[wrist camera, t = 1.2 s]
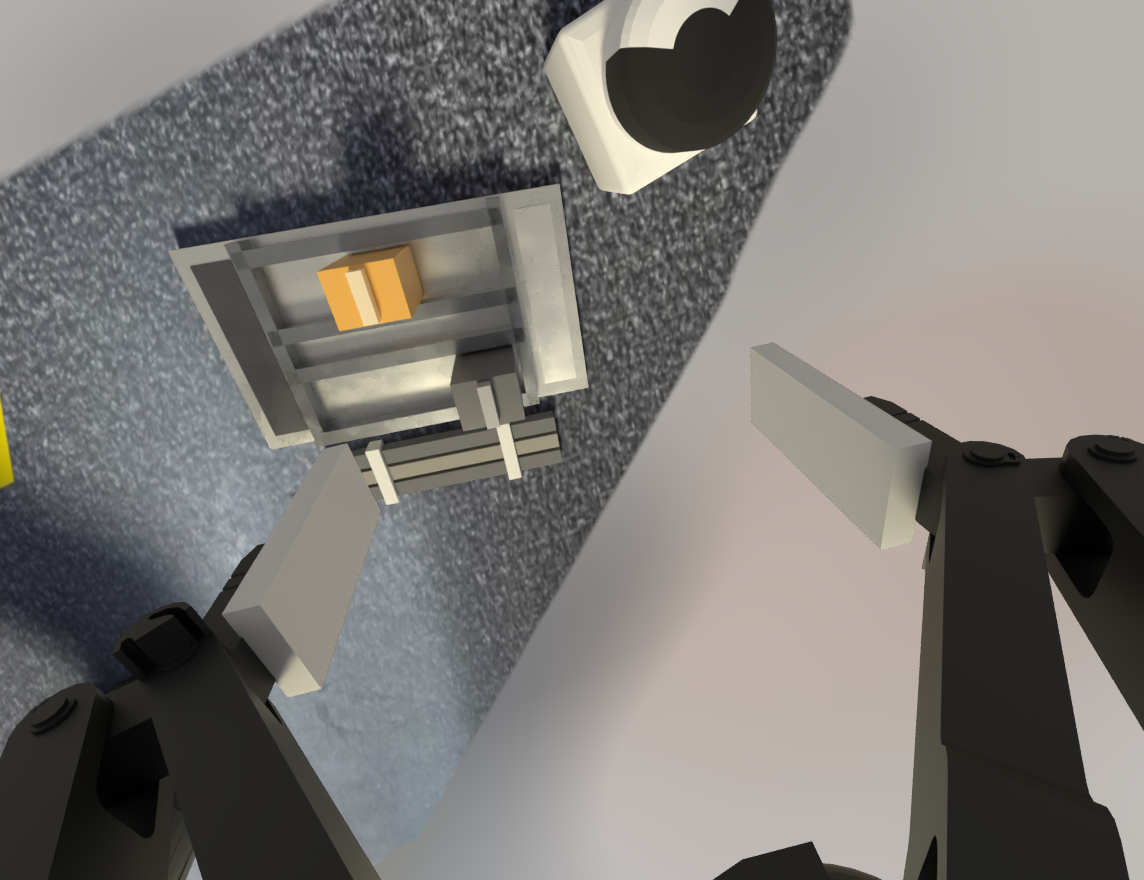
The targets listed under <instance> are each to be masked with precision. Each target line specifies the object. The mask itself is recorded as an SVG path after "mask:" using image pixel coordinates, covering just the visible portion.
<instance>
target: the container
mask: <svg viewBox="0 0 1144 880" xmlns="http://www.w3.org/2000/svg"><path fill="white" fill-rule="evenodd" d="M776 47H777V29H776V21H775V15H774V10H773V6H772V2H771V0H604V1H602V2H601V3H599V4H598V5H596V6H595V7H593V8H592V9H590V10H589V11H587V12H586V13H584V14H583V15H581V16H580V17H578V18H577V19H575V20H574V21H572V22H571V23H569V24H568V25H566V26H565V27H563V28H562V29H561V30H560V32H559V33H558V35H557V37H556V39H555V41H554V43H553V46H552V48H551V50H550V52H549V54H548V56H547V58H546V60H545V62H544V70H545V72H546V74H547V77H548V79H549V81H550V83H551V85H552V87H553V90H554V92H555V94H556V96H557V98H558V101H559V103H560V105H561V107H562V109H563V112H564V114H565V116H566V118H567V120H568V122H569V125H570V127H571V129H572V131H573V133H574V136H575V138H576V140H577V142H578V144H579V146H580V149H581V151H582V153H583V155H584V157H585V160H586V162H587V164H588V166H589V168H590V171H591V173H592V175H593V177H594V179H595V181H596V184H597V186H598V188H599V189H600V190H603V191H610V192H616V193H622V194H632V193H634V192H636V191H637V190H639V189H641V188H642V187H644V186H646V185H647V184H649V183H651V182H652V181H654V180H655V179H657V178H659V177H660V176H662V175H664V174H665V173H667V172H668V171H670V170H672V169H673V168H675V167H677V166H678V165H680V164H682V163H683V162H685V161H686V160H688V159H690V158H691V157H693V156H695V155H696V154H698V153H700V152H701V151H703V150H704V149H707V148H711V147H714V146H716V145H718V144H720V143H722V142H724V141H725V140H727V139H729V138H730V137H732V136H733V135H734V134H735V133H736V132H738V131H739V130H740V129H741V128H742V127H743V126H744V125H745V124H747V123H749V122H750V121H752V120H753V119H754V118H755V117H756V114H757V108H758V106H759V104H760V102H761V101H762V99H763V97H764V95H765V92H766V90H767V88H768V85H769V82H770V79H771V76H772V73H773V68H774V63H775V58H776Z"/></svg>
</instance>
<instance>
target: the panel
mask: <svg viewBox="0 0 1144 880" xmlns="http://www.w3.org/2000/svg"><path fill="white" fill-rule="evenodd" d="M407 244H409V245H410V248H411V252H412V255H413V258H414V262H415V265H416V269H417V272H418V276H419V279H420V283H421V286H422V289H423V293H424V296H423V298H422V300H421V302H420V303H419V305H418V307H417V309H416V311H415V313H414V314H413V316H412V318H409V319H403V320H398V321H393V322H387V323H382V324H376V325H371V326H365V327H360V328H355V329H349V330H344V331H339V329H338V326H337V324H336V321H335V319H334V316H333V313H332V311H331V308H330V306H329V303H328V300H327V298H326V295H325V293H324V290H323V288H322V285H321V282H320V280H319V277H318V275H317V271H319V270H321V269H322V268H324V267H326V266H328V265H329V264H331V263H333V262H335V261H337V260H338V259H340V258H342V257H344V256H345V255H350V254H356V253H361V252H367V251H373V250H379V249H384V248H390V247H396V246H401V245H407ZM168 252H169V254H170V256H171V258H172V260H173V262H174V264H175V266H176V268H177V270H178V272H179V274H180V276H181V277H182V279H183V281H184V283H185V285H186V287H187V289H188V291H189V293H190V295H191V297H192V299H193V301H194V302H195V304H196V306H197V308H198V310H199V312H200V314H201V316H202V318H203V320H204V322H205V324H206V326H207V328H208V329H209V331H210V333H211V335H212V337H213V339H214V341H215V343H216V345H217V347H218V349H219V351H220V353H221V355H222V356H223V358H224V360H225V362H226V364H227V366H228V368H229V370H230V372H231V374H232V376H233V378H234V380H235V381H236V383H237V385H238V387H239V389H240V391H241V393H242V395H243V397H244V399H245V401H246V403H247V405H248V407H249V408H250V410H251V412H252V414H253V416H254V418H255V420H256V422H257V424H258V426H259V428H260V430H261V432H262V433H263V435H264V437H265V439H266V441H267V443H268V445H269V447H270V449H276V448H282V447H287V446H292V445H297V444H302V443H307V442H312V441H315V442H316V444H317V447H321V446H326V445H331V444H336V443H341V442H346V441H352V440H357V439H362V438H367V437H372V436H377V435H382V434H387V433H392V432H397V431H402V430H408V429H413V428H418V427H423V426H428V425H433V424H438V423H443V422H448V421H453V420H459V419H460V418H459V415H458V412H457V408H456V405H455V401H454V398H453V394H452V391H451V387H450V382H451V376H452V371H453V366H454V361H455V356H456V354H461V353H466V352H472V351H477V350H482V349H488V348H493V347H498V346H503V345H509V344H512V346H513V351H514V356H515V360H516V365H517V370H518V374H519V379H520V384H521V391H522V398H523V405H524V407H525V406H530V405H535V404H540V403H539V398H538V397H542V396H548V395H553V394H558V393H563V392H568V391H573V390H578V389H583V388H588V381H587V374H586V367H585V360H584V353H583V346H582V339H581V332H580V325H579V318H578V311H577V304H576V297H575V290H574V283H573V276H572V269H571V261H570V254H569V247H568V240H567V233H566V226H565V219H564V212H563V205H562V198H561V191H560V184H551V185H545V186H540V187H534V188H528V189H522V190H516V191H511V192H505V193H499V194H493V195H487V196H481V197H476V198H470V199H464V200H458V201H452V202H447V203H441V204H435V205H429V206H423V207H418V208H412V209H406V210H400V211H394V212H388V213H383V214H377V215H371V216H365V217H359V218H354V219H348V220H342V221H336V222H330V223H324V224H319V225H313V226H307V227H301V228H295V229H290V230H284V231H278V232H272V233H266V234H261V235H255V236H249V237H243V238H237V239H231V240H226V241H220V242H214V243H208V244H202V245H197V246H191V247H185V248H179V249H175V250H171V251H168Z"/></svg>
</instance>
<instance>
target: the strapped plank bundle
mask: <svg viewBox="0 0 1144 880" xmlns="http://www.w3.org/2000/svg"><path fill="white" fill-rule="evenodd" d="M351 452H352V454H353V456H354V458H355V460H356V462H357V464H358V467H359V469H360V471H361V473H362V475H363V477H364V479H365V481H366V483H367V485H368V487H369V489H370V491H371V493H372V495H373V497H374V499H375V500H379V499H384V500H385V502H386V504H387V505H389V504H394V503H399V501H400V498H401V495H404V494H409V493H414V492H418V491H423V490H428V489H433V488H438V487H443V486H448V485H453V484H458V483H463V482H468V481H473V480H477V479H482V478H487V477H492V476H497V475H502V474H507V473H508V476H509V480H511V479H516V478H521V477H522V476H521V471H522V470H527V469H532V468H536V467H541V466H546V465H551V464H556V463H561V462H562V457H561V452H560V447H559V441H558V436H557V431H556V425H555V420H554V415H553V411H548V412H543V413H538V414H533V415H528V416H525V419H524V420H519V421H514V422H509V423H504V424H500V427H497V428H492V429H487V427H483V428H478V429H473V430H468V431H463V429H457V430H452V431H447V432H442V433H437V434H431V435H426V436H421V437H416V438H411V439H406V440H401V441H396V442H391V443H386V444H384V443H383V440H377V441H372V442H369V444H368V446H367V447H366V448H361V449H355V450H351Z"/></svg>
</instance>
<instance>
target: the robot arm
mask: <svg viewBox="0 0 1144 880" xmlns="http://www.w3.org/2000/svg"><path fill="white" fill-rule="evenodd" d="M750 363H751V422H752V423H753V425H754V426H755V427H756V428H757V429H758V430H760V431H761V432H762V433H763V434H764V435H765V436H766V437H767V438H768V439H769V440H770V441H771V442H772V443H773V444H774V445H775V446H776V447H777V448H778V449H779V450H780V451H781V452H782V453H783V454H784V455H785V456H786V457H787V458H788V459H789V460H790V461H791V462H792V463H793V464H794V465H795V466H796V467H797V468H798V469H799V470H800V471H801V472H802V473H803V474H804V475H805V476H806V477H807V478H808V479H809V480H810V481H811V482H812V483H813V484H814V485H815V486H816V487H817V488H818V489H819V490H820V491H821V492H822V493H823V494H824V495H825V496H826V497H827V498H828V499H829V500H830V501H831V502H832V503H833V504H834V505H835V506H836V507H838V509H840V510H841V511H842V512H843V513H844V514H845V515H846V516H847V517H848V518H849V519H850V520H851V521H852V522H853V523H854V524H855V525H856V526H857V527H858V528H859V529H860V530H861V531H862V532H863V533H864V534H865V535H866V536H867V537H868V538H869V539H870V540H871V541H872V542H873V543H874V544H875V545H876V546H877V547H878V548H879V549H880V550H882V549H886V548H890V547H894V546H898V545H903V544H906V543H910V542H912V540H913V535H914V530H915V525H916V521H917V522H918V523H919V524H920V525H922V526H923V527H924V528H925V529H926V530H928V531H929V532H930V533H929V537H928V542H927V547H926V552H925V556H924V560H923V565H922V569H925V586H924V603H923V620H922V621H923V623H922V637H921V654H920V671H919V687H918V704H917V720H916V738H915V754H914V770H913V771H914V772H913V787H912V804H911V820H910V835H909V845H908V852H907V858H906V864H905V871H904V879H903V880H1129V876H1128V871H1127V866H1126V862H1125V857H1124V852H1123V847H1122V843H1121V839H1120V836H1119V832H1118V829H1117V826H1116V823H1115V819H1114V818H1113V816H1112V815H1111V813H1110V811H1109V810H1108V808H1107V807H1105V806H1103V805H1101V804H1098V803H1096V802H1094V801H1093V799H1092V798H1091V796H1090V794H1089V791H1088V787H1087V783H1086V778H1085V772H1084V767H1083V761H1082V756H1081V750H1080V745H1079V739H1078V734H1077V728H1076V723H1075V718H1074V713H1073V706H1072V701H1071V696H1070V690H1069V684H1068V679H1067V673H1066V668H1065V663H1064V657H1063V651H1062V646H1061V641H1060V635H1059V630H1058V624H1057V619H1056V613H1055V608H1054V602H1053V597H1052V591H1051V586H1050V580H1049V575H1048V572H1049V574H1050V576H1051V577H1052V579H1053V581H1054V582H1055V584H1056V586H1057V587H1058V589H1059V591H1060V592H1061V594H1062V596H1063V597H1064V599H1065V601H1066V602H1067V604H1068V606H1069V607H1070V609H1071V611H1072V612H1073V614H1074V616H1075V617H1076V619H1077V621H1078V622H1079V624H1080V626H1081V627H1082V629H1083V631H1084V632H1085V634H1086V635H1087V637H1088V639H1089V641H1090V642H1091V644H1092V645H1093V647H1094V649H1095V651H1096V652H1097V654H1098V656H1099V657H1100V659H1101V661H1102V662H1103V664H1104V665H1105V667H1106V669H1107V670H1108V672H1109V674H1110V675H1111V677H1112V679H1113V680H1114V682H1115V684H1116V685H1117V687H1118V689H1119V690H1120V692H1121V694H1122V695H1123V697H1124V699H1125V700H1126V702H1127V704H1128V705H1129V707H1130V709H1131V710H1132V712H1133V714H1134V715H1135V717H1136V719H1137V720H1138V722H1139V724H1140V725H1141V727H1142V729H1143V730H1144V444H1142V443H1139V442H1136V441H1133V440H1131V439H1129V438H1124V437H1121V438H1120V437H1119V436H1113V435H1086V436H1079V437H1076V438H1073V439H1071V440H1070V441H1069V442H1068V444H1067V445H1066V448H1065V451H1064V454H1063V457H1062V458H1037V459H1025V457H1024V455H1022V454H1020V453H1019V452H1017V451H1016V450H1014V449H1012V448H1009V447H1006V446H1003V445H1001V444H996V443H991V442H985V441H968V442H962V443H961V442H959V441H957V440H956V439H954V438H952V437H950V436H949V435H947V434H946V433H944V432H942V431H940V430H939V429H937V428H935V427H933V426H932V425H930V424H929V423H926V422H925V421H923V420H921V421H920V418H918V417H916V416H915V415H913V414H911V413H907V411H906V410H904V409H903V408H901V407H900V406H898V405H896V404H894V403H893V402H890V401H886V400H883V399H880V398H876V397H873V396H869V397H865V398H862V397H860V396H859V395H857V394H855V393H854V392H852V391H851V390H849V389H847V388H846V387H844V386H843V385H841V384H839V383H838V382H836V381H834V380H833V379H831V378H830V377H828V376H827V375H825V374H823V373H822V372H820V371H818V370H817V369H815V368H814V367H812V366H810V365H809V364H807V363H806V362H804V361H802V360H801V359H799V358H798V357H796V356H794V355H793V354H791V353H789V352H788V351H786V350H785V349H783V348H781V347H780V346H778V345H777V344H775V343H769V344H765V345H760V346H756V347H752V348H750ZM380 512H381V511H380V509H379V507H378V505H377V503H376V501H375V499H374V497H373V495H372V493H371V491H370V489H369V487H368V485H367V483H366V481H365V479H364V477H363V475H362V473H361V471H360V469H359V467H358V464H357V462H356V460H355V458H354V456H353V454H352V452H351V450H350V448H349V446H348V444H342V445H338V446H334V447H330V448H326V449H323V450H322V452H321V453H320V455H319V457H318V458H317V460H316V461H315V463H314V465H313V466H312V468H311V470H310V471H309V473H308V475H307V476H306V478H305V479H304V481H303V483H302V484H301V486H300V488H299V489H298V491H297V492H296V494H295V496H294V497H293V499H292V501H291V502H290V504H289V505H288V507H287V509H286V510H285V512H284V514H283V515H282V517H281V518H280V520H279V522H278V523H277V525H276V527H275V528H274V530H273V532H272V533H271V535H270V536H269V538H268V540H267V541H266V543H265V544H261V545H257V546H256V547H255V548H254V549H253V550H252V551H251V552H250V553H249V554H248V555H247V556H245V557H244V558H243V559H242V560H241V561H240V563H239V564H238V566H237V568H236V569H235V571H234V572H233V574H232V575H231V579H229V580H228V581H227V583H226V585H225V586H224V588H223V592H220V594H219V595H218V597H217V598H216V600H215V601H214V603H213V605H212V606H211V608H210V609H209V611H208V612H207V614H206V615H205V617H204V618H203V620H202V618H201V617H200V616H199V615H198V614H197V612H196V611H195V610H194V609H193V608H192V606H190V605H189V604H187V603H186V602H176V603H172V604H169V605H166V606H162V607H160V608H158V609H156V610H154V611H152V612H150V613H148V614H147V615H145V616H144V617H142V618H141V619H139V620H138V621H137V622H135V623H134V624H132V625H131V626H130V627H129V628H128V629H127V630H126V631H125V632H124V633H123V634H122V635H121V636H120V638H119V639H118V640H117V642H116V643H115V645H114V648H113V654H112V655H113V656H115V657H116V658H117V659H118V660H119V661H120V662H121V663H122V664H123V665H124V666H125V667H126V668H127V669H128V670H129V671H130V672H131V673H132V674H133V675H134V676H135V677H136V678H133V679H130V680H127V681H125V682H123V683H121V684H119V685H117V686H115V687H114V688H112V689H111V690H110V691H109V692H108V693H106V694H104V693H103V692H102V691H101V690H99V689H98V688H97V687H96V686H95V685H93V684H91V683H89V682H87V683H80V684H75V685H73V686H71V687H68V688H66V689H63V690H61V691H59V692H58V693H56V694H54V695H53V696H51V697H48V698H47V699H45V700H44V701H42V702H41V703H39V705H38V706H36V707H34V708H33V709H32V710H31V711H30V712H29V713H28V714H27V715H26V716H25V717H24V719H23V720H22V721H21V722H20V723H19V724H18V725H17V726H16V727H15V729H14V730H13V732H12V734H11V735H10V737H9V738H8V741H7V743H6V746H5V748H4V751H3V753H2V755H1V758H0V880H186V878H187V875H188V873H189V871H190V868H191V866H192V864H193V861H194V859H195V857H196V860H197V863H198V866H199V869H200V872H201V876H202V879H203V880H381V879H380V877H379V876H378V874H377V872H376V871H375V869H374V867H373V866H372V864H371V862H370V861H369V859H368V858H367V856H366V854H365V853H364V851H363V849H362V848H361V846H360V844H359V843H358V841H357V840H356V838H355V836H354V835H353V833H352V831H351V830H350V828H349V827H348V825H347V823H346V822H345V820H344V818H343V817H342V815H341V813H340V812H339V810H338V809H337V807H336V805H335V804H334V802H333V800H332V799H331V797H330V796H329V794H328V792H327V791H326V789H325V787H324V786H323V784H322V782H321V781H320V779H319V778H318V776H317V774H316V773H315V771H314V769H313V768H312V766H311V765H310V763H309V761H308V760H307V758H306V756H305V755H304V753H303V751H302V750H301V748H300V747H299V745H298V743H297V742H296V740H295V738H294V737H293V735H292V734H291V732H290V730H289V729H288V727H287V725H286V724H285V722H284V720H283V719H282V717H281V716H280V714H279V712H278V711H277V709H276V707H275V706H274V705H273V704H272V702H271V701H270V700H269V699H268V697H269V694H270V692H271V690H272V687H273V685H274V683H275V682H276V683H277V684H278V686H279V687H280V688H281V689H282V691H283V692H284V693H285V694H286V696H287V697H291V696H295V695H299V694H303V693H307V692H311V691H315V690H320V689H322V686H323V683H324V680H325V677H326V674H327V671H328V668H329V665H330V662H331V659H332V656H333V653H334V650H335V647H336V644H337V641H338V638H339V635H340V632H341V629H342V626H343V623H344V620H345V617H346V614H347V611H348V608H349V605H350V602H351V599H352V596H353V593H354V590H355V587H356V584H357V581H358V578H359V575H360V572H361V569H362V566H363V563H364V560H365V557H366V554H367V551H368V548H369V545H370V542H371V539H372V536H373V533H374V530H375V527H376V524H377V521H378V518H379V515H380ZM714 880H881V879H879V878H877V877H875V876H872V875H870V874H867V873H864V872H861V871H858V870H855V869H851V868H847V867H843V866H838V865H834V864H825V863H822V861H821V859H820V857H819V855H818V853H817V851H816V849H815V847H814V844H813V842H808V843H803V844H800V845H796V846H792V847H788V848H785V849H781V850H777V851H773V852H769V853H765V854H761V855H758V856H754V857H750V858H746V859H743V860H741V861H740V862H738V863H737V864H735V865H734V866H732V867H731V868H729V869H728V870H726V871H725V872H723V873H722V874H721V875H719V876H718V877H716V878H715V879H714Z"/></svg>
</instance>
